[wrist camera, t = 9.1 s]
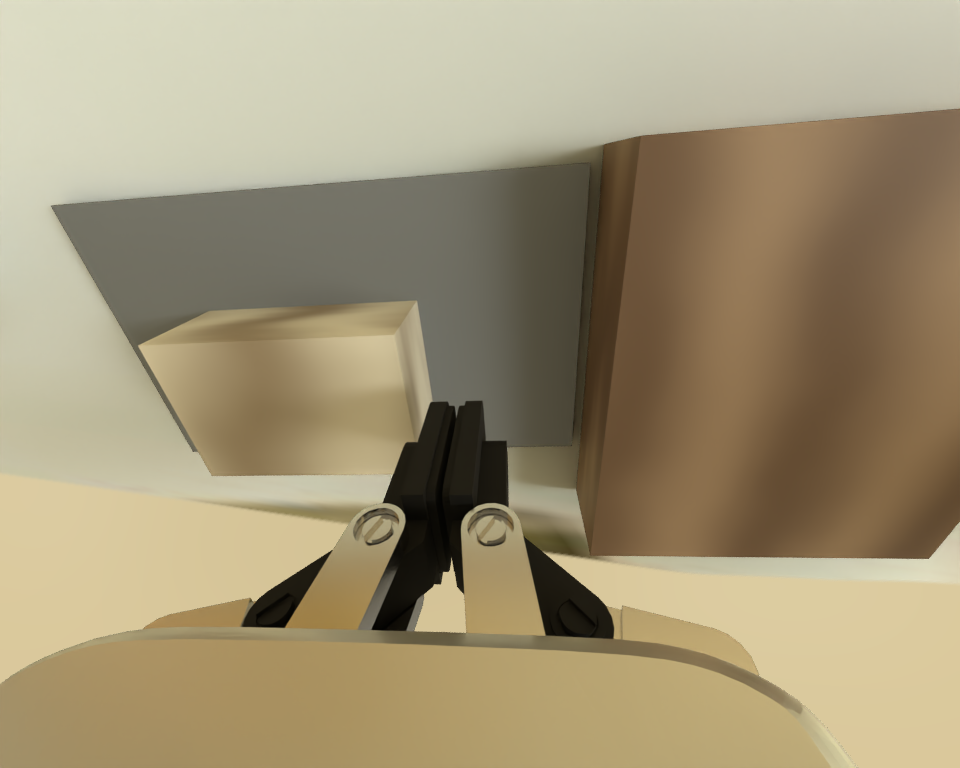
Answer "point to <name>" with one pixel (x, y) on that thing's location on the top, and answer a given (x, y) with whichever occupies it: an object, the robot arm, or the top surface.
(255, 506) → the top surface
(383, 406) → the beige rectangular block
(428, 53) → the top surface
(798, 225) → the step
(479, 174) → the mat
